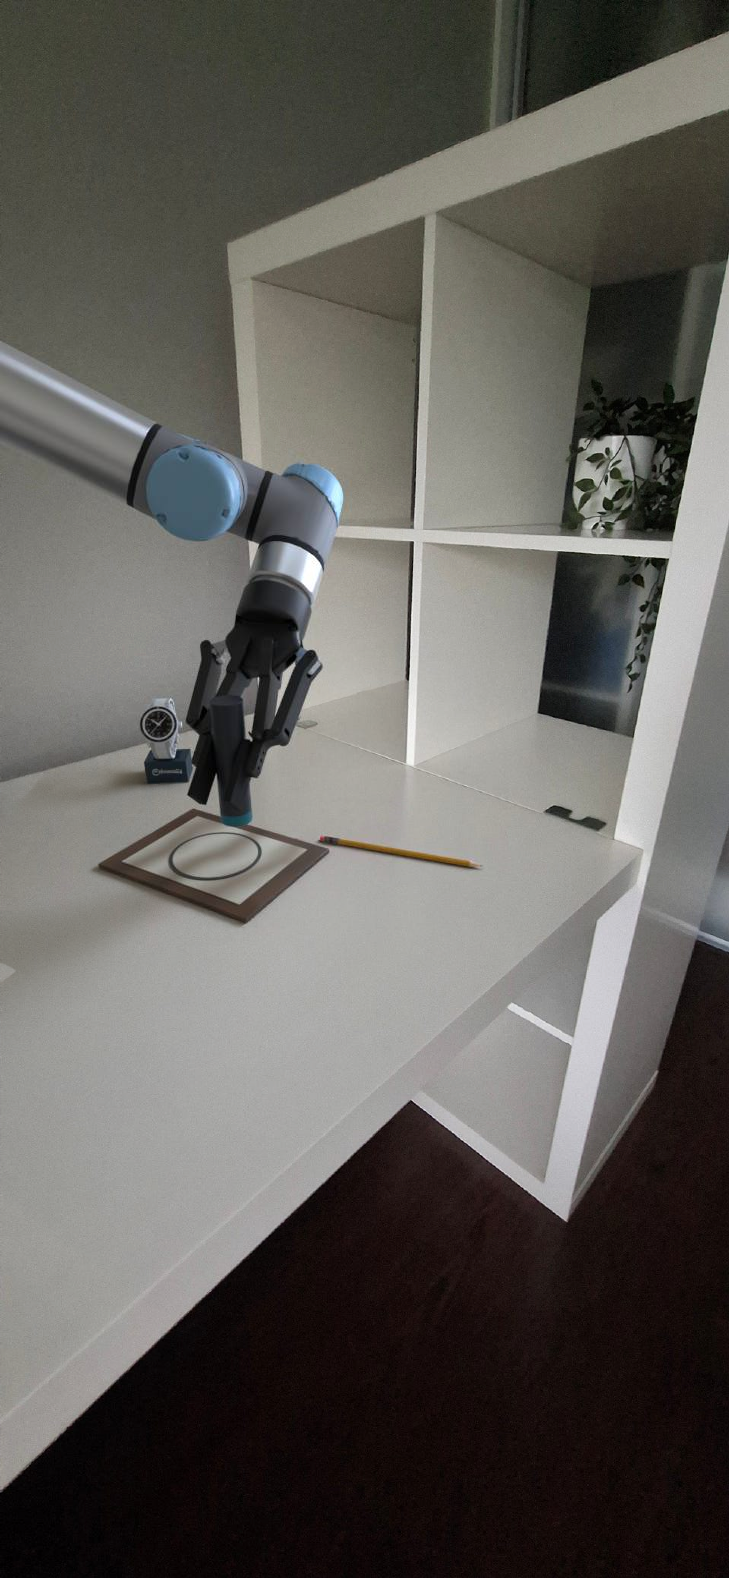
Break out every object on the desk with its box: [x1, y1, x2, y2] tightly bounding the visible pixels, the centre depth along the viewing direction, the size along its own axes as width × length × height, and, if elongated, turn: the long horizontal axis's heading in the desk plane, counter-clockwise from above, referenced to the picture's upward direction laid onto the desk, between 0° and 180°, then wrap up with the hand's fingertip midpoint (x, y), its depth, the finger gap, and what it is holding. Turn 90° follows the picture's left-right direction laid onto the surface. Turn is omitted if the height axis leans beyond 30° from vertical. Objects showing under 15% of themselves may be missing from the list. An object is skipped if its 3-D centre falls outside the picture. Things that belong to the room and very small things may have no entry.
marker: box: [209, 695, 254, 827], centre depth 69 cm, size 3×3×13 cm
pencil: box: [319, 835, 482, 868], centre depth 77 cm, size 19×1×1 cm, turn 72°
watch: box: [139, 697, 194, 784], centre depth 93 cm, size 6×8×11 cm
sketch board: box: [97, 808, 330, 924], centre depth 76 cm, size 20×15×1 cm
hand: (214, 802), depth 66 cm, fingers closed on marker, 3 cm apart
